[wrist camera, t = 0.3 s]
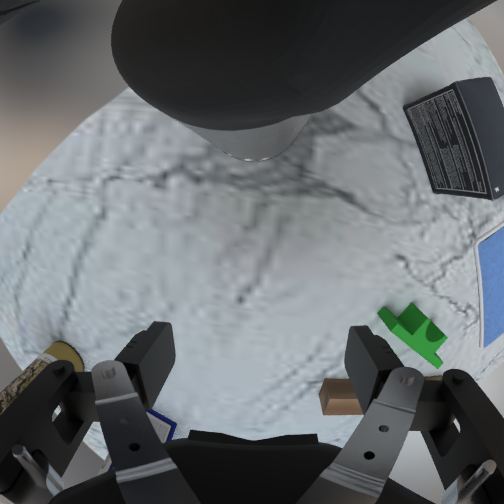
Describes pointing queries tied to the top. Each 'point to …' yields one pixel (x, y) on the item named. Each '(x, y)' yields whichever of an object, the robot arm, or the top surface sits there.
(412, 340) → the pipe clamp
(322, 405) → the block
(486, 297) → the tablet computer
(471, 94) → the small box
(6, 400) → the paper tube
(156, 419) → the milk carton
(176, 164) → the top surface
